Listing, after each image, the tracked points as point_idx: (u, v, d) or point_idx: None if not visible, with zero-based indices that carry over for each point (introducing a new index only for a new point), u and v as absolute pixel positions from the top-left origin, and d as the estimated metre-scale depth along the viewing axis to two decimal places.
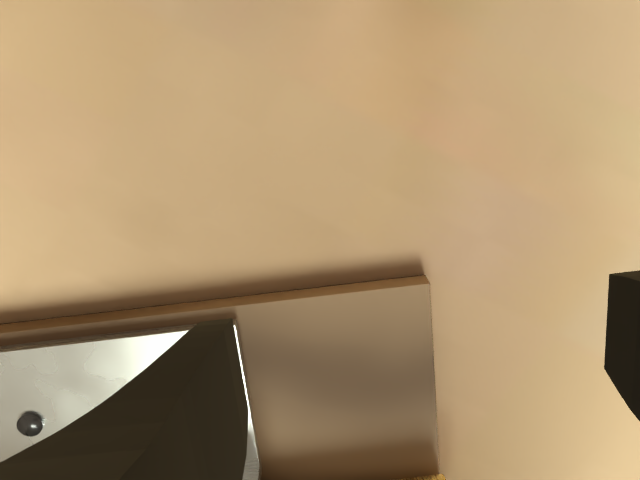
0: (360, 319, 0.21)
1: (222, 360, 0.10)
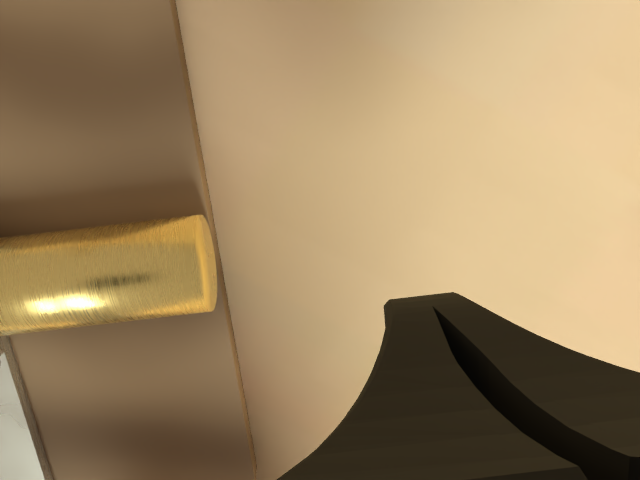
0: None
1: None
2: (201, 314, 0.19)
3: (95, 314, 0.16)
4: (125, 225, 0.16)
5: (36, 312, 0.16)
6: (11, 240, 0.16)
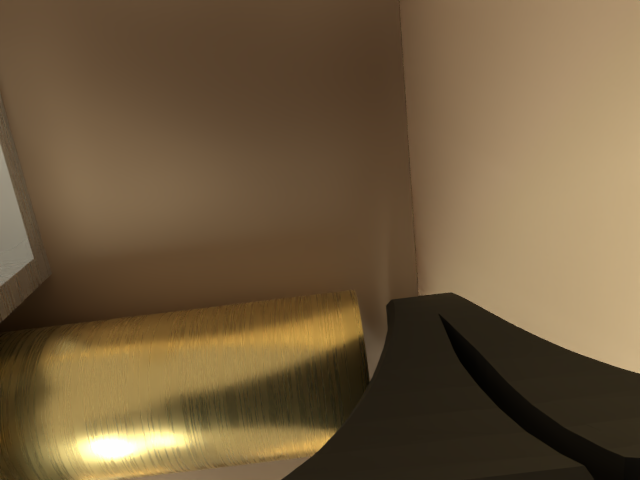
0: None
1: None
2: None
3: (194, 463, 0.10)
4: (238, 311, 0.10)
5: (99, 464, 0.09)
6: (54, 338, 0.10)
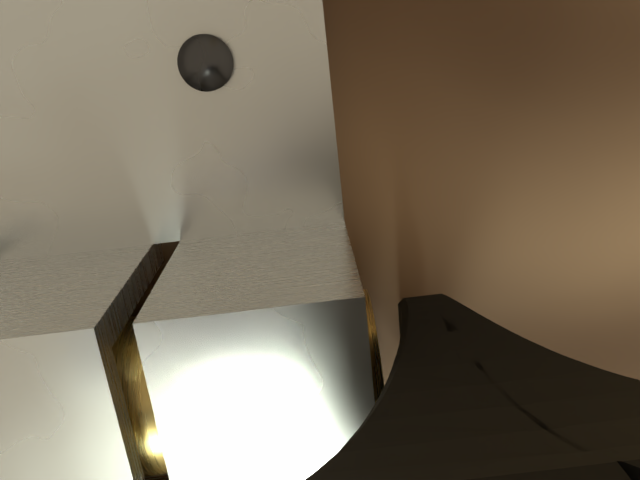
0: None
1: None
2: None
3: None
4: None
5: None
6: None
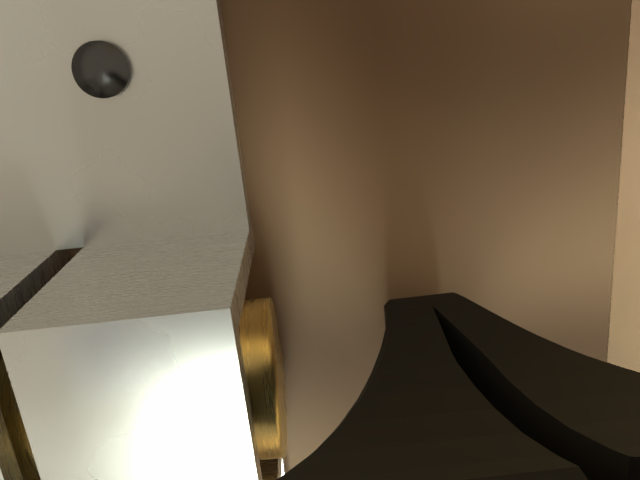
0: None
1: None
2: None
3: None
4: None
5: None
6: None
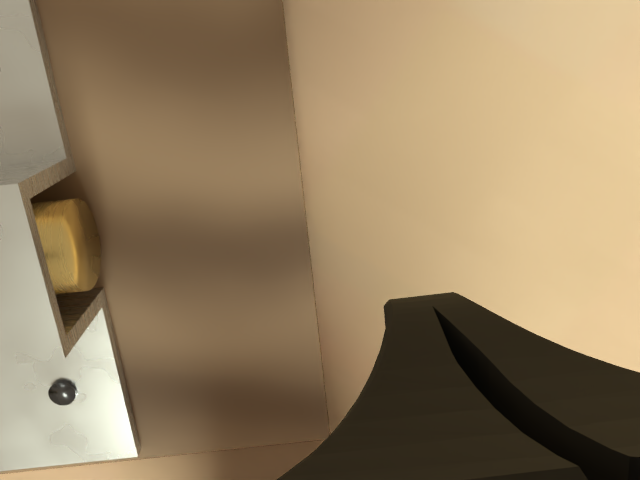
0: None
1: None
2: (289, 274, 0.20)
3: None
4: None
5: None
6: None
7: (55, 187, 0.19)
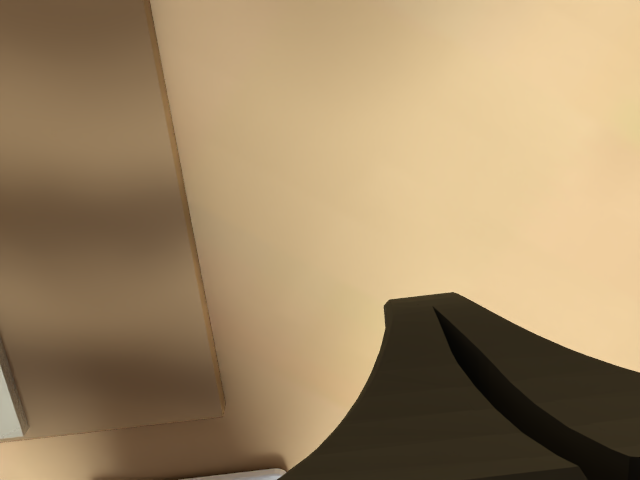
0: None
1: None
2: (166, 246, 0.19)
3: None
4: None
5: None
6: None
7: None
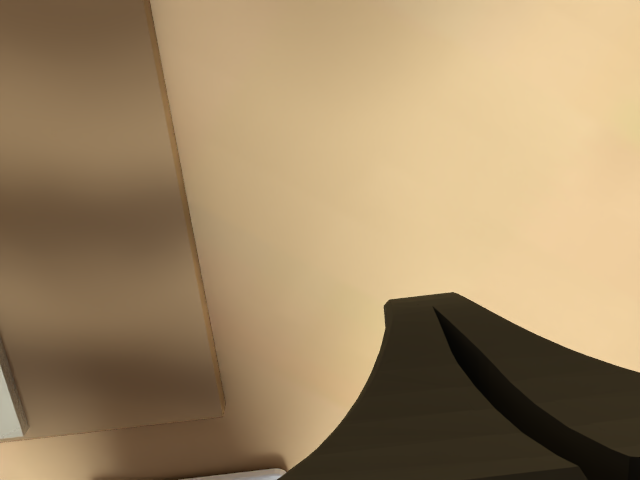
0: None
1: None
2: (166, 246, 0.19)
3: None
4: None
5: None
6: None
7: None
